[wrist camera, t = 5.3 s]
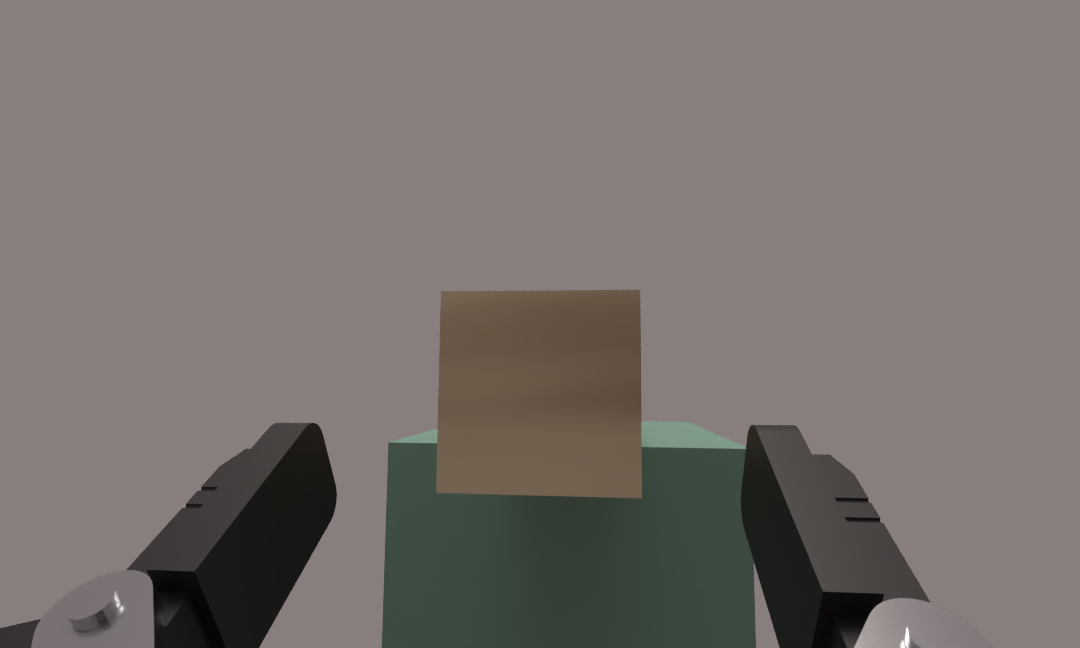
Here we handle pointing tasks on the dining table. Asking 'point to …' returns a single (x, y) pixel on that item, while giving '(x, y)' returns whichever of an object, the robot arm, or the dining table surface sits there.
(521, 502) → the green stand
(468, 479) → the beech bar
